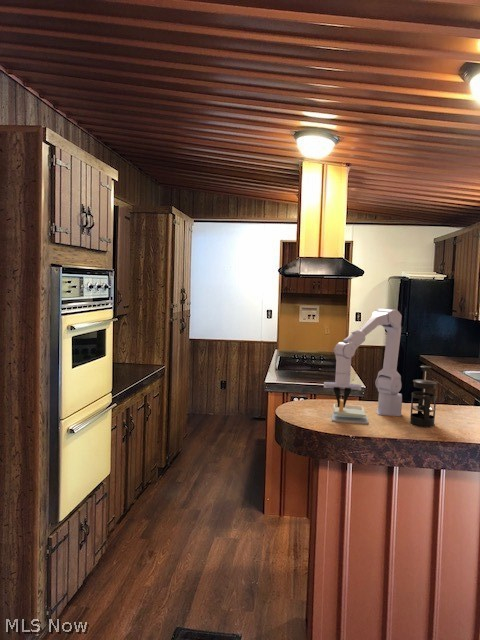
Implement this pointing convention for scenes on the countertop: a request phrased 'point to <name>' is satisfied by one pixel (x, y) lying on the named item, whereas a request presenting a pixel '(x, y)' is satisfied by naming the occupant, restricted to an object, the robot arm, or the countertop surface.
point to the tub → (350, 407)
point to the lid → (348, 411)
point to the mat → (349, 419)
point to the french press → (423, 403)
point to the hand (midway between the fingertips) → (341, 406)
